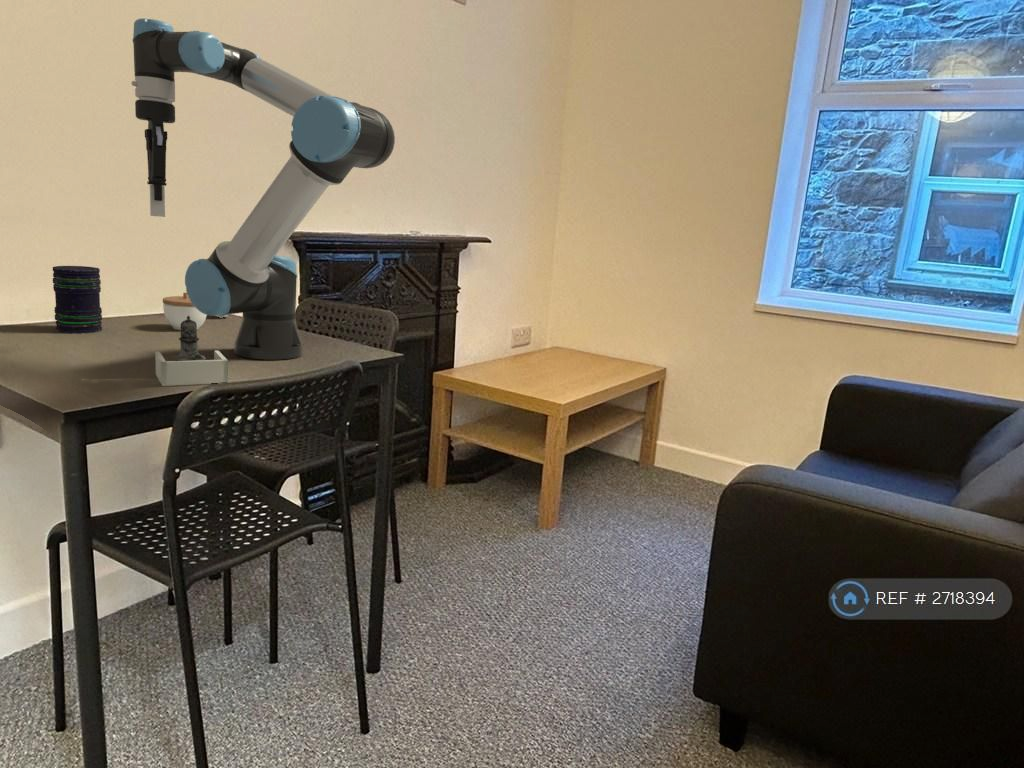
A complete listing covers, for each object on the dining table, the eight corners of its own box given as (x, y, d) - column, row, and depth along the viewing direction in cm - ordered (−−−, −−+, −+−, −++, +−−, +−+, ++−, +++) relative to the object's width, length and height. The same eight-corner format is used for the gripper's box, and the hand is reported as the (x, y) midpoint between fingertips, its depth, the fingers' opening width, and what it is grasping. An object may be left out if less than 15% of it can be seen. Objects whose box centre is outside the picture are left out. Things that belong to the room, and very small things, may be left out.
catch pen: (218, 371, 148) (218, 350, 147) (227, 383, 140) (228, 360, 139) (155, 374, 142) (155, 351, 141) (162, 386, 134) (161, 362, 133)
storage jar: (52, 333, 169) (48, 269, 165) (58, 325, 177) (55, 264, 174) (100, 334, 173) (98, 271, 169) (104, 326, 181) (102, 267, 178)
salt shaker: (174, 371, 145) (172, 312, 142) (206, 371, 147) (205, 313, 144) (172, 378, 140) (170, 317, 137) (205, 378, 142) (204, 318, 139)
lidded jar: (164, 324, 191) (163, 289, 189) (207, 325, 196) (207, 290, 193) (162, 331, 182) (161, 294, 180) (208, 332, 186) (208, 296, 184)
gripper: (131, 100, 155) (135, 213, 160) (138, 95, 144) (141, 216, 149) (170, 106, 159) (172, 215, 164) (179, 102, 148) (181, 219, 154)
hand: (157, 216), depth 157 cm, fingers closed
